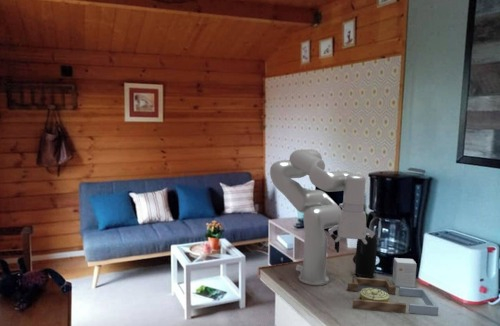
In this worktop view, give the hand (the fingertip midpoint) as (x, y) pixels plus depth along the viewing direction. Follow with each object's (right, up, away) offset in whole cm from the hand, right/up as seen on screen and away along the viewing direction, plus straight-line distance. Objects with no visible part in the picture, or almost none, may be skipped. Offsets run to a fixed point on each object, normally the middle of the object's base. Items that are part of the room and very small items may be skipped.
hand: (349, 252), depth 156 cm
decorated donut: (+10, -19, +1) cm, 21 cm away
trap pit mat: (+12, -17, +11) cm, 24 cm away
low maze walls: (+10, -18, +4) cm, 21 cm away
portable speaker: (+13, -16, +26) cm, 33 cm away
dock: (+25, -19, 0) cm, 31 cm away
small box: (+27, -18, +18) cm, 36 cm away
